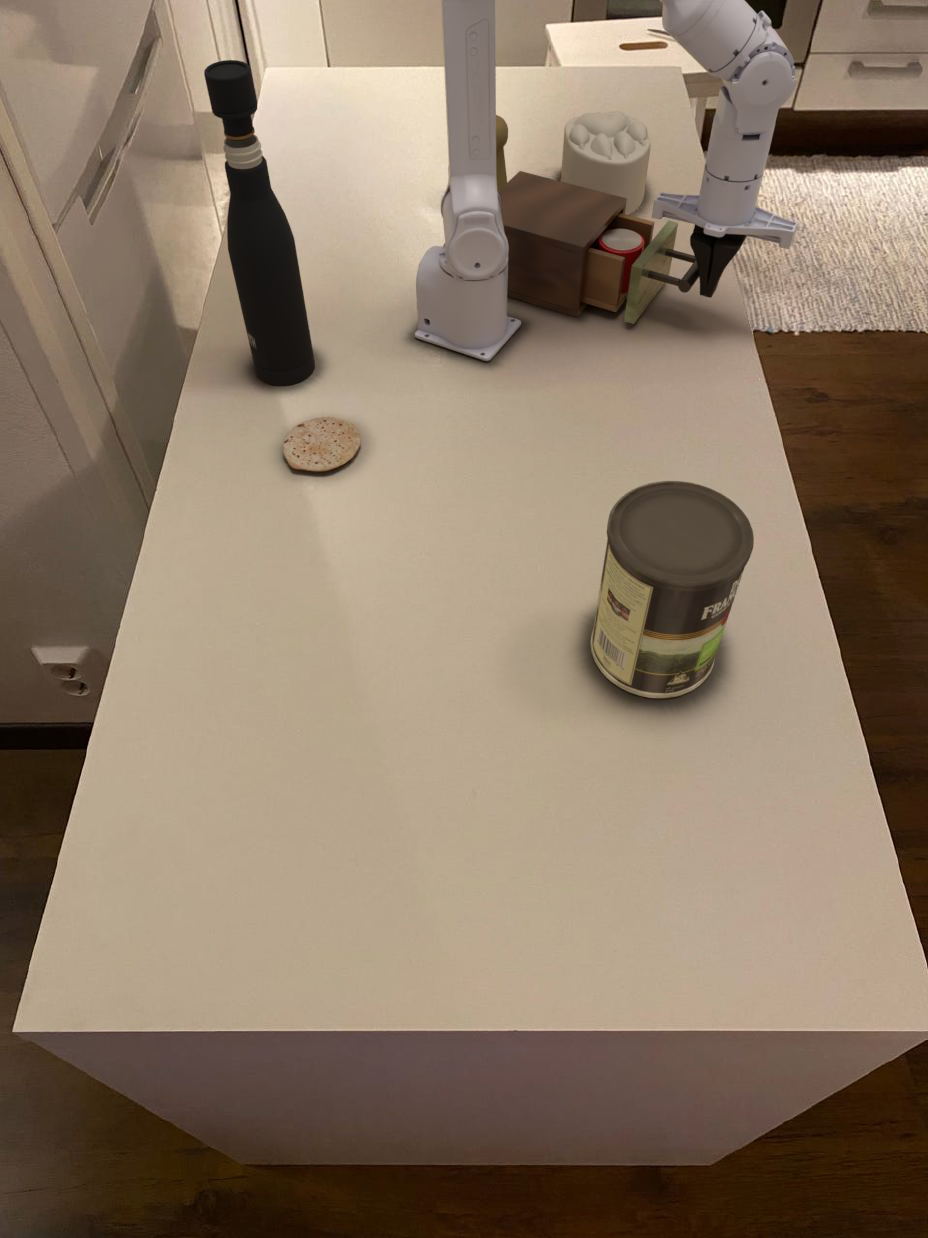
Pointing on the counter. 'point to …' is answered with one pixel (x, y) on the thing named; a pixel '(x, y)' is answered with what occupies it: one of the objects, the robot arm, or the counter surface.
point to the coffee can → (668, 586)
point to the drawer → (634, 269)
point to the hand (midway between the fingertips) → (707, 291)
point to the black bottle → (259, 237)
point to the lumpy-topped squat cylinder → (607, 155)
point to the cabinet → (552, 238)
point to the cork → (501, 151)
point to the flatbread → (321, 444)
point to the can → (622, 249)
